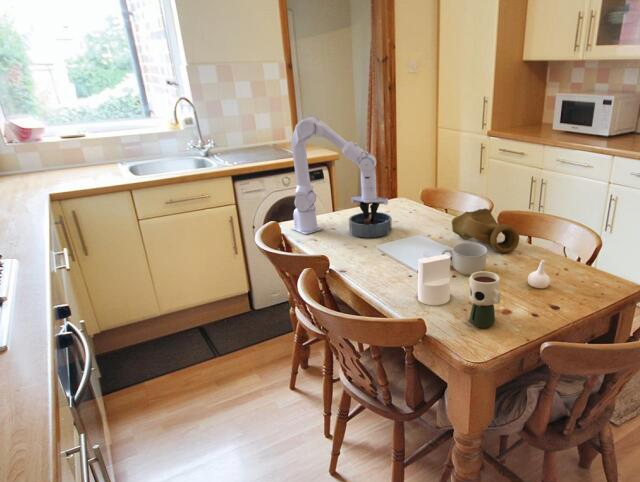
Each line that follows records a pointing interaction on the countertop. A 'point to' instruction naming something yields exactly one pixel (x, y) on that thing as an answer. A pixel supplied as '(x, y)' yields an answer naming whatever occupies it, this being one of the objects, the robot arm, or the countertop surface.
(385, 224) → the bowl
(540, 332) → the countertop surface
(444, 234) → the countertop surface
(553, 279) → the countertop surface
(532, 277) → the garlic bulb
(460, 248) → the teacup
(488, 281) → the character mug
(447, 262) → the cylinder with rectangular tab
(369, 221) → the brown rectangular block
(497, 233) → the brown looped sculpture
